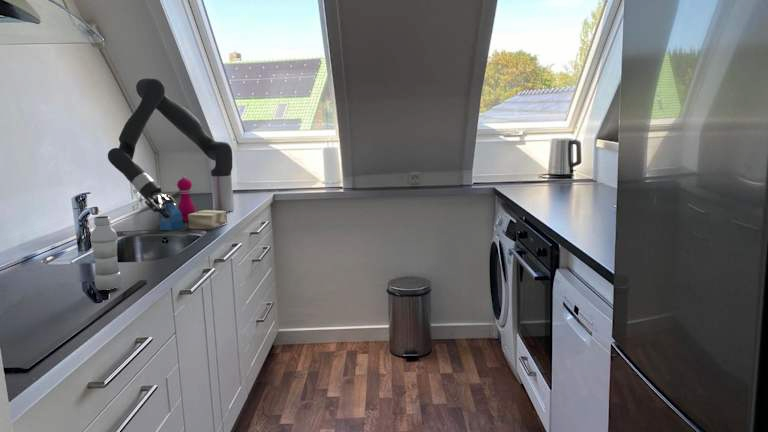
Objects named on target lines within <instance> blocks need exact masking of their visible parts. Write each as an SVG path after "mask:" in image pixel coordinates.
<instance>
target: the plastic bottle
mask: <svg viewBox="0 0 768 432" xmlns="http://www.w3.org/2000/svg"><path fill="white" fill-rule="evenodd" d="M93 224H94V226H95V227H94V229H93V230H92V231H91V234H90V238H89V240H90V244H91V248H92V251H93V258H94V262H95V263H94V266H95V267H94V270H95V271H94V286H95V288H96V289H97V290H98V291H100V290H107V289H112V288H115V287H118V286H120V285H121V286H122V282H123V279H122V274H121V271H120V267H119V262H118V240H119V238H118V233H117V231H116V230H115V229H114V228H113V227H112V226H111V219H110V216H109V215H103V216H95V217H93ZM121 286H120V287H121Z"/></svg>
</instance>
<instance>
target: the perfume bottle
mask: <svg viewBox="0 0 768 432" xmlns="http://www.w3.org/2000/svg"><path fill="white" fill-rule="evenodd" d="M173 200H175V198H174V199H167V200H165V201H166V203H165V205H166V207H163V209H165V210H166V211H167V212H168V213H169V214H170V216H169V217H168V218H167V219H166V218H165V217H163V216H162V214H161V213H158V219H159V228H160V230H163V231H175V230H180V229H182V228H184V224H183V223H184V222H183V221H182V212H181V211H180V210H179V209H178V206H176V207H174V202H173Z"/></svg>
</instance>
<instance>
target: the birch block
mask: <svg viewBox="0 0 768 432" xmlns="http://www.w3.org/2000/svg"><path fill="white" fill-rule="evenodd" d="M227 213H228V212H226V211H215V210H213V209H209V210H208V209H203V210H199V211H195V212H194V213H192V214H188V220H189V221H188V228H189V229H194V230H207V229H206V228H213V227H216V226H219V225H222V224H225V223H227V224H228V215H227Z"/></svg>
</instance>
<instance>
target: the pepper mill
mask: <svg viewBox="0 0 768 432" xmlns="http://www.w3.org/2000/svg"><path fill="white" fill-rule="evenodd" d="M176 186H177V188H178V189H179V190H178V193H179V196H180V197H179V198H180V199H179V204H178V206H177V207H178V209H179V210H180V211H181V212H182V221H183V223H185V222H189V220H188V214H192V213H195V212H196V208H195V205H194V203H193V201H192V199H191V193H192V190H191V188H192V187H193V186H192V181H191V180H190V179H188V178H187V177H186V175H184V174H183V175H181V179H179V180H178V181H177V184H176Z"/></svg>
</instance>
